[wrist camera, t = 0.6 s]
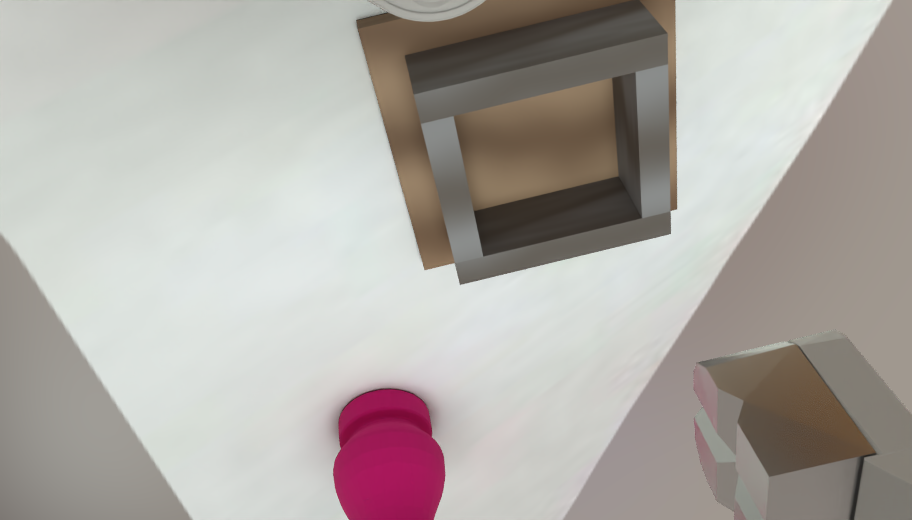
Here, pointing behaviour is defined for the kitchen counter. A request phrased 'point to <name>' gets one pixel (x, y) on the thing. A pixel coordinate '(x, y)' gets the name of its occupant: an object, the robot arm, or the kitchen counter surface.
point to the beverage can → (427, 8)
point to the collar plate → (530, 128)
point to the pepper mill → (388, 459)
